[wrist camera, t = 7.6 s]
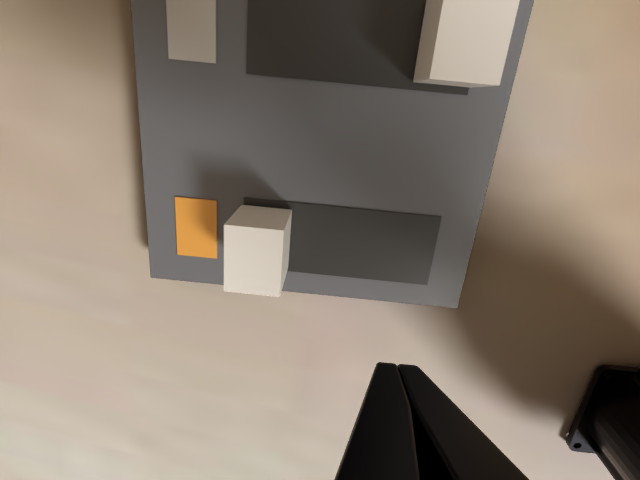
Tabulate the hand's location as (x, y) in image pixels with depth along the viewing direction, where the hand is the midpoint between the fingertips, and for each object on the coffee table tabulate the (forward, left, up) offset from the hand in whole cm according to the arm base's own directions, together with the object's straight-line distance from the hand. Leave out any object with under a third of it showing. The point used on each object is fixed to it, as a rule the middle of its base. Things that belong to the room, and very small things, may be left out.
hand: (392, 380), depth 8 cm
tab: (-1, +4, -11) cm, 12 cm away
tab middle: (+8, -2, -11) cm, 13 cm away
